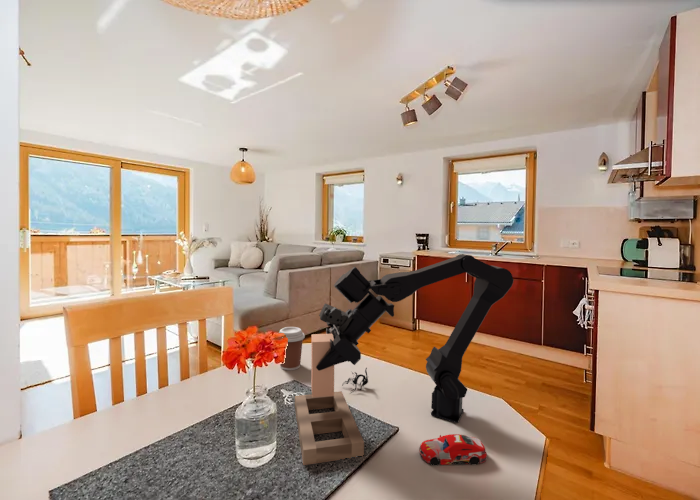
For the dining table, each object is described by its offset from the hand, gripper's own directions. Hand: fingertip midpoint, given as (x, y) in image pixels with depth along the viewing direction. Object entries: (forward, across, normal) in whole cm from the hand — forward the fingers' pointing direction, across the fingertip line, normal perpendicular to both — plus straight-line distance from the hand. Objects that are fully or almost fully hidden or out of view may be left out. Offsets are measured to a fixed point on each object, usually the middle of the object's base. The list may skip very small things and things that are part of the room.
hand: (316, 364), depth 78 cm
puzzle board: (+8, +4, +11) cm, 14 cm away
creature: (+1, -15, +18) cm, 24 cm away
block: (+4, 0, +6) cm, 7 cm away
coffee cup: (+14, -32, +5) cm, 35 cm away
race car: (-8, +16, +28) cm, 34 cm away
